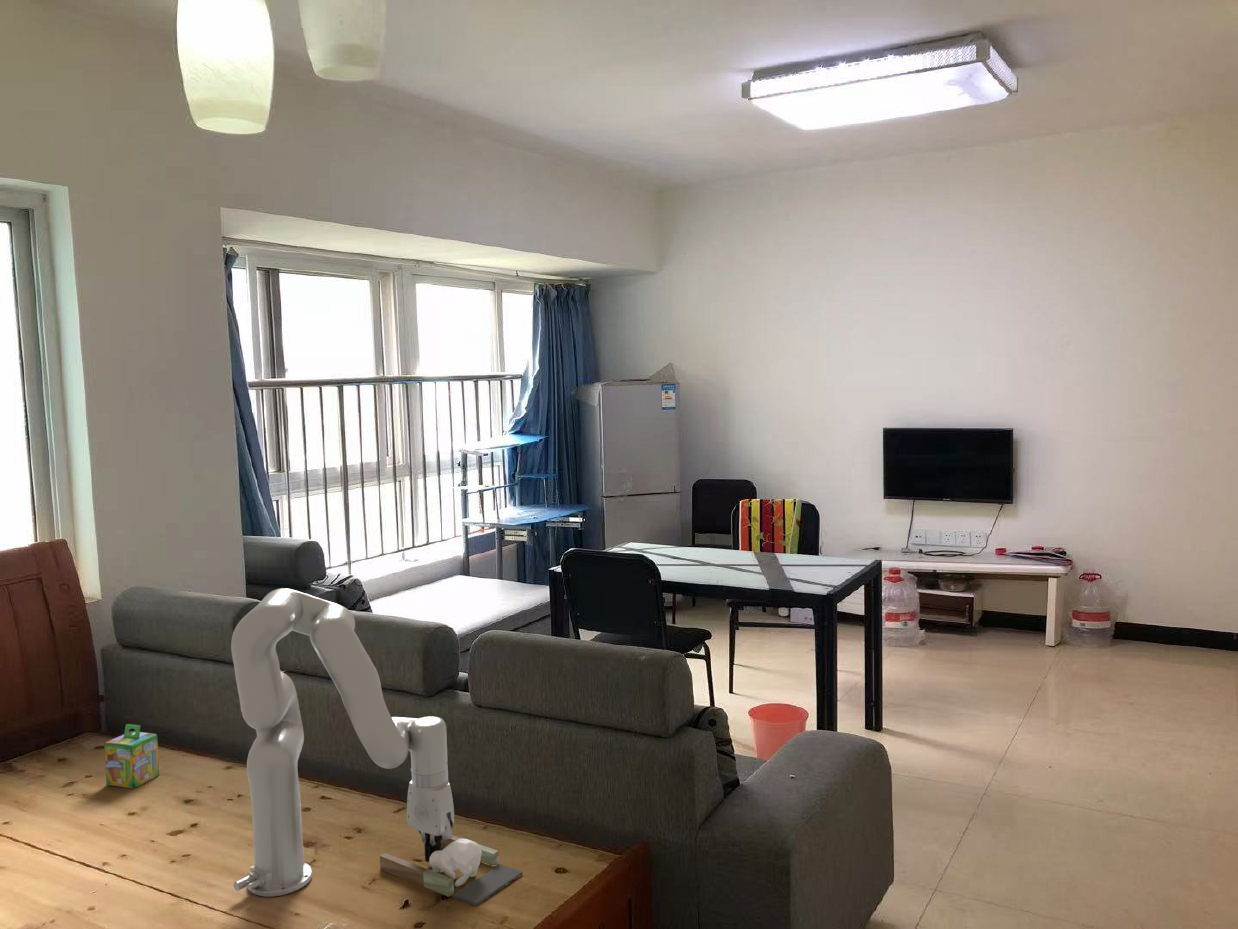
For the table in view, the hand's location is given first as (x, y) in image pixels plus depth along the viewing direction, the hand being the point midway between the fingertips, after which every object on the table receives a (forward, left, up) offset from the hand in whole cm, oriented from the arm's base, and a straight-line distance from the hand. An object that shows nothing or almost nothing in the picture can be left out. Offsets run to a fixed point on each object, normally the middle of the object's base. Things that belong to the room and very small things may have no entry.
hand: (433, 859), depth 203 cm
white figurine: (-1, -7, -1) cm, 8 cm away
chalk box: (-11, +99, -1) cm, 100 cm away
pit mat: (0, -16, -1) cm, 16 cm away
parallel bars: (0, -2, -1) cm, 2 cm away
